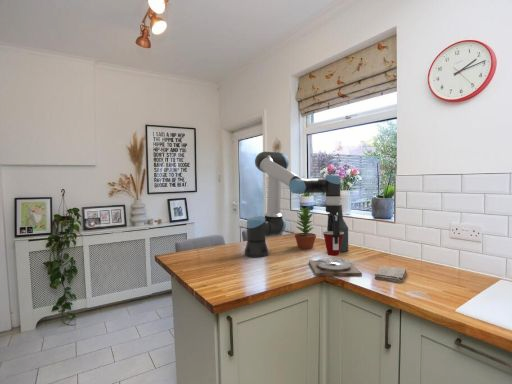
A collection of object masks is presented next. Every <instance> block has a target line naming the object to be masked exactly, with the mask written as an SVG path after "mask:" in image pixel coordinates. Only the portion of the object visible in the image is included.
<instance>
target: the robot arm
mask: <svg viewBox="0 0 512 384" xmlns="http://www.w3.org/2000/svg"><path fill="white" fill-rule="evenodd" d="M254 164H255V167H256V168H257V170H259V171H260V172H261V173H264V174H265V173H266V174H267V177H268V179H267V180H268V182H267V205H266V206H267V207H266V212H265V214H264V216H262V215H261V216H254V217H250V218H248V219H247V221H246V245H245V249H244V256H245V257H249V258H250V257H251V258H264V257H268V256H269V248H268V246H267V241H266V237H272V236H278V235H281V234H283V233H284V232H285V230H286V226H287V225H286V224H287V223H286V221H285V218H284V217H283V214H282V213H281V207H282V205H281V202H282V201H281V200H282V183H283V185H286V186H287V187H288V188H289V190H290V192H291V193H292V194H297V195H300V194H313V193H315V194H317V193H318V194H319V193H320V194H321V193H323V194H325V198H324V200H325V213H327V224H326V225H327V227H326V230H327V231H333V236H332V237H333V250H339V237H340V230H339V216H338V213H339V212H341V206H340V205H341V201H342V198H341V186H342V185H341V184H342V182H341V175H340V174H326V175H325V178H303V177H301V176H299V175H297V174H296V173H294V172H293V171H291V170H289V169H288V168H289V158H288V156H287V155H286V153H284V152H279V151H262V152H259V153H258V154H257V155H256V156H255V158H254Z"/></svg>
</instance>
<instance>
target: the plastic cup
mask: <svg viewBox="0 0 512 384" xmlns="http://www.w3.org/2000/svg"><path fill="white" fill-rule="evenodd" d="M322 234H323V237H324V243H325V248H326V254H327V255H328V256H330V257H339V256H340V253H341V252H340V247H341V241H342V237H343V234H344V232H340V237H339V250H333V237H332V236H333V231H322Z"/></svg>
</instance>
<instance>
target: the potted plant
mask: <svg viewBox="0 0 512 384" xmlns="http://www.w3.org/2000/svg"><path fill="white" fill-rule="evenodd" d="M298 206H299V207H298V208H299V209H300V211H301V213H300V212H298V211H296V213H297V217H298V218H299V220H298V219H297V221H298V222H296V224H297V225H299V226H296V225H295V227H296V228H297V229H298V230H300V231H301V232H299V233H298V232H297V233H295V234H294V238H295V241H296V246H297V248H298V249H301V250H312V249H314V245H315V241H316V238H317V234H316V233H312V232H310V231H312V230H313V229H314V228H315V226H313V227H312V225H311V224H310V223H312V222H313V220H310V219H311V217H313V213H310V212H311V211H312V210H311V209H312V208H311V206H312V204H310V205H308V206H306V207H305V208H304V207H303V206H300V205H298Z"/></svg>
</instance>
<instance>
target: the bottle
mask: <svg viewBox="0 0 512 384" xmlns="http://www.w3.org/2000/svg"><path fill="white" fill-rule="evenodd" d="M339 205H340V206H341V212H339V213H337V216H339V230H340V232H344V234H343V237H342V241H341V247H340V252H339V253H344V252H348V251H349V227H348V225H347V223H346V221H345V220H344V217H343V216H344V215H343V214H344V213H343V205H342V204H339Z"/></svg>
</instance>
